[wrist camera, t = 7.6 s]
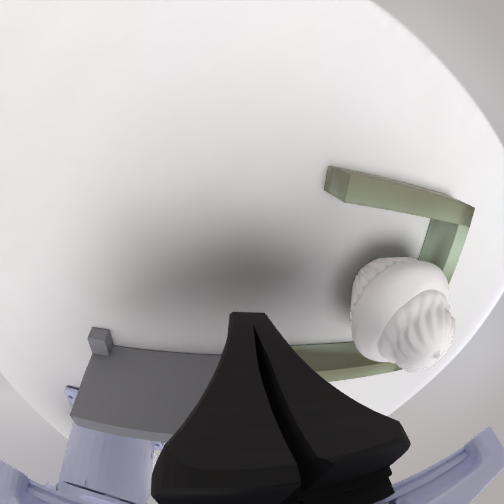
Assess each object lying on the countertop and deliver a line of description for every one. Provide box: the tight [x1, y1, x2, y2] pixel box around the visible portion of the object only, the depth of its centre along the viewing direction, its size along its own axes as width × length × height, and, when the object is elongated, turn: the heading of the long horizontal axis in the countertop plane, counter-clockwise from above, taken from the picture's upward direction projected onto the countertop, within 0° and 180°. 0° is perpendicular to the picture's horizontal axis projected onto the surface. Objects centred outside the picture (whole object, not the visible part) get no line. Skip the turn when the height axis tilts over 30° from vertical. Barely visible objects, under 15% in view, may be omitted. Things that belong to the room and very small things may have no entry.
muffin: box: [350, 257, 455, 372], centre depth 13 cm, size 6×6×7 cm
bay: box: [291, 166, 475, 382], centre depth 15 cm, size 12×9×2 cm
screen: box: [70, 327, 222, 442], centre depth 14 cm, size 4×12×6 cm, turn 83°
